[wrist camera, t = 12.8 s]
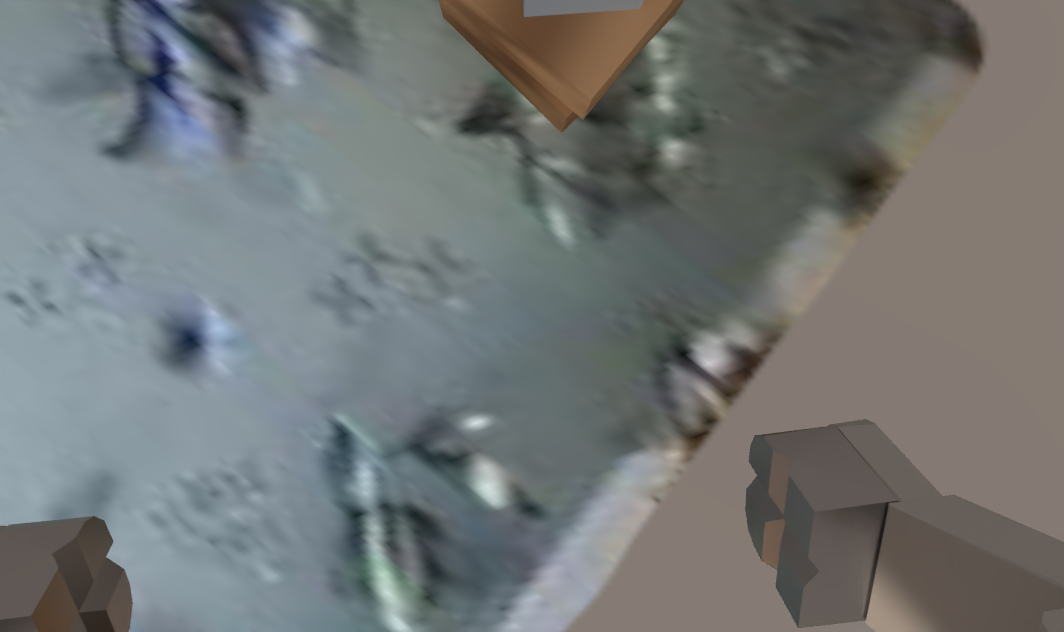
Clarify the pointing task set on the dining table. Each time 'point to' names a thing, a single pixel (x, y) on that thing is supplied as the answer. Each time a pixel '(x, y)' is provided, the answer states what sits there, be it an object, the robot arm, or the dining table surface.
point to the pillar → (576, 6)
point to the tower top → (567, 43)
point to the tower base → (518, 76)
